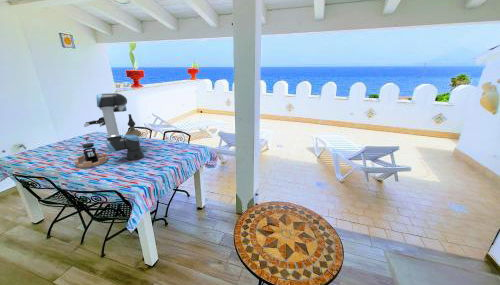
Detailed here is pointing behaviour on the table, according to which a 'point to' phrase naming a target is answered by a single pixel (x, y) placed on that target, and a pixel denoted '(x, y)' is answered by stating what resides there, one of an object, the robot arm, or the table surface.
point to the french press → (90, 156)
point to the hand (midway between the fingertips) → (92, 125)
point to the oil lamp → (132, 128)
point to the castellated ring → (83, 164)
